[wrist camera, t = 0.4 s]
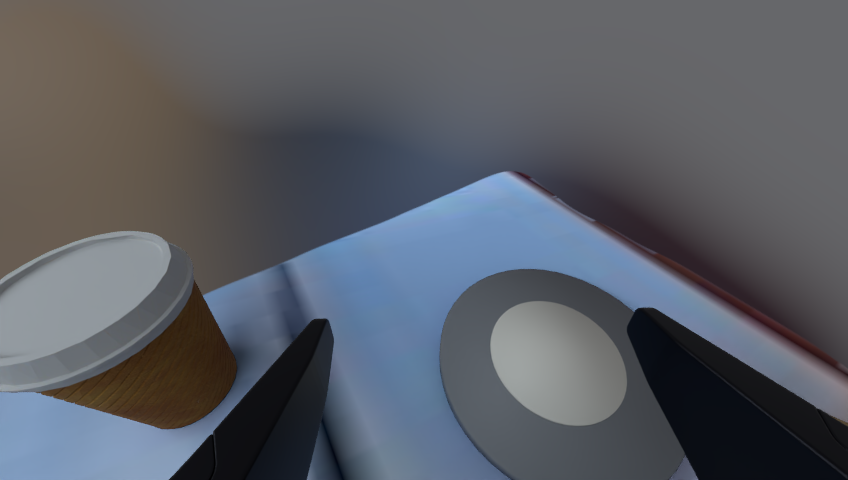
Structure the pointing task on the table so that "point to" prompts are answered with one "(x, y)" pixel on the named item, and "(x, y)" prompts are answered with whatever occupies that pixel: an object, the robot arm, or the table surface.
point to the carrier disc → (553, 381)
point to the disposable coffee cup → (115, 331)
